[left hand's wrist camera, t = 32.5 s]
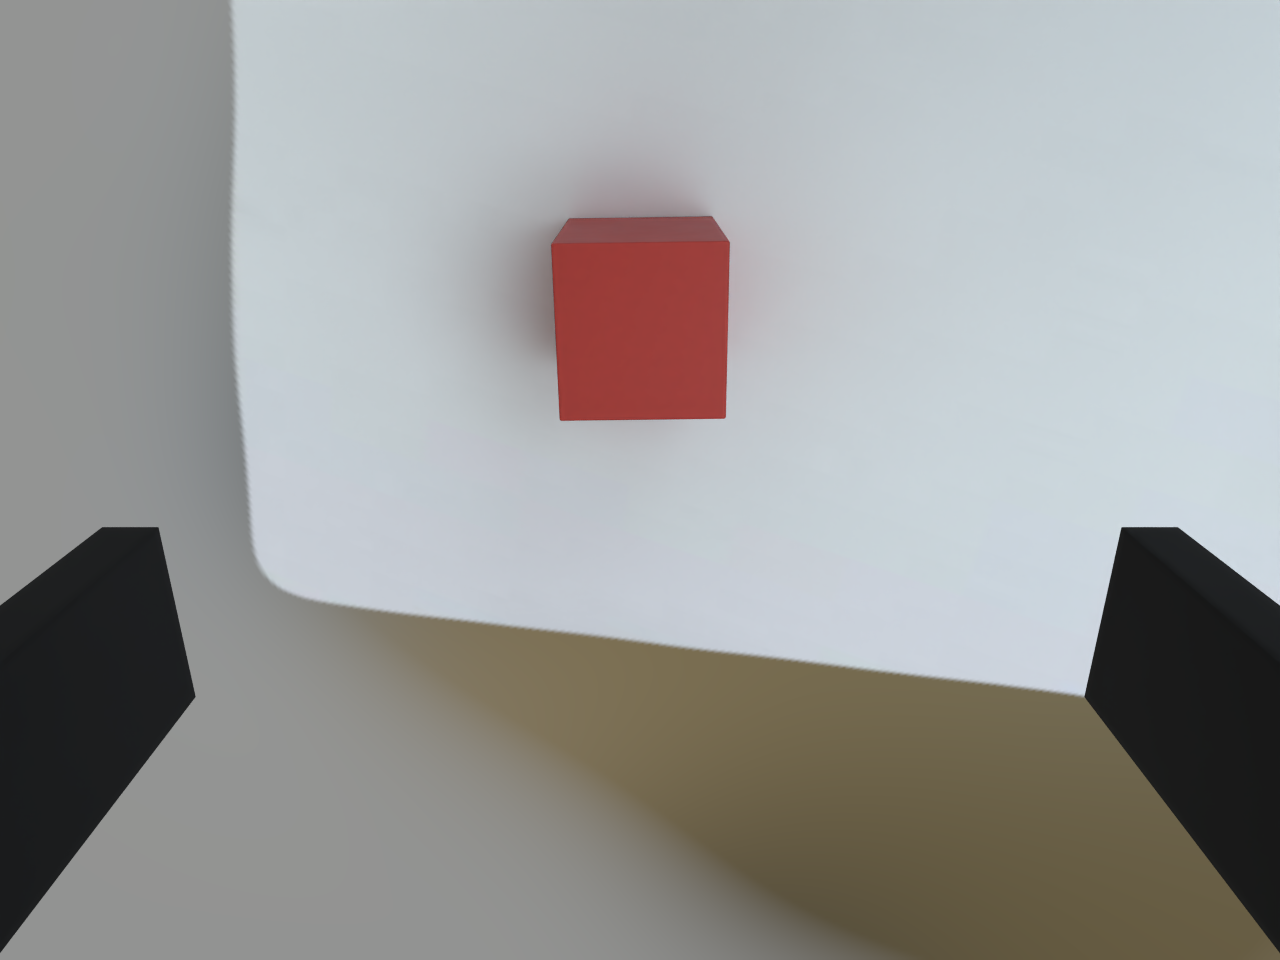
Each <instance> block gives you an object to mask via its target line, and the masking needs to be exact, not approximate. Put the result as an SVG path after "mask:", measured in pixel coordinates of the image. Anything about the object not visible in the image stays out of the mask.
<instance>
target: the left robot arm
mask: <svg viewBox="0 0 1280 960" xmlns="http://www.w3.org/2000/svg"><path fill="white" fill-rule="evenodd" d="M194 698H195V692H194V688H193V683H192V679H191V674H190V669H189V665H188V660H187V656H186V651H185V647H184V642H183V637H182V633H181V628H180V624H179V619H178V615H177V610H176V605H175V601H174V597H173V592H172V587H171V583H170V578H169V574H168V569H167V565H166V560H165V555H164V551H163V546H162V542H161V537H160V532H159V528H158V527H102V528H101V529H99V530H98V531H97V532H95V533H94V534H93V535H92V536H90V537H89V538H88V539H86V540H85V541H84V542H82V543H81V544H80V545H79V546H77V547H76V548H75V549H73V550H72V551H71V552H69V553H68V554H67V555H66V556H64V557H63V558H62V559H60V560H59V561H58V562H56V563H55V564H54V565H52V566H51V567H50V568H49V569H47V570H46V571H45V572H43V573H42V574H41V575H39V576H38V577H37V578H36V579H34V580H33V581H32V582H30V583H29V584H28V585H26V586H25V587H24V588H23V589H21V590H20V591H19V592H17V593H16V594H15V595H13V596H12V597H11V598H10V599H8V600H7V601H6V602H4V603H3V604H2V605H0V952H1V951H2V950H3V948H4V947H5V946H6V945H7V943H8V942H9V941H10V939H11V938H12V937H13V935H14V934H15V933H16V931H17V930H18V929H19V927H20V926H21V925H22V924H23V922H24V921H25V920H26V918H27V917H28V916H29V914H30V913H31V912H32V910H33V909H34V908H35V907H36V905H37V904H38V903H39V901H40V900H41V899H42V897H43V896H44V895H45V893H46V892H47V891H48V890H49V888H50V887H51V886H52V884H53V883H54V882H55V880H56V879H57V878H58V876H59V875H60V874H61V872H62V871H63V870H64V869H65V867H66V866H67V865H68V863H69V862H70V861H71V859H72V858H73V857H74V855H75V854H76V853H77V852H78V850H79V849H80V848H81V846H82V845H83V844H84V842H85V841H86V840H87V838H88V837H89V836H90V834H91V833H92V832H93V831H94V829H95V828H96V827H97V825H98V824H99V823H100V821H101V820H102V819H103V817H104V816H105V815H106V814H107V812H108V811H109V810H110V808H111V807H112V806H113V804H114V803H115V802H116V800H117V799H118V798H119V796H120V795H121V794H122V793H123V791H124V790H125V789H126V787H127V786H128V785H129V783H130V782H131V781H132V779H133V778H134V777H135V775H136V774H137V773H138V772H139V770H140V769H141V768H142V766H143V765H144V764H145V762H146V761H147V760H148V758H149V757H150V756H151V755H152V753H153V752H154V751H155V749H156V748H157V747H158V745H159V744H160V743H161V741H162V740H163V739H164V738H165V736H166V735H167V734H168V732H169V731H170V730H171V728H172V727H173V726H174V724H175V723H176V722H177V720H178V719H179V718H180V717H181V715H182V714H183V713H184V711H185V710H186V709H187V707H188V706H189V705H190V703H191V702H192V701H193V699H194ZM1085 698H1086V700H1087V701H1088V702H1089V703H1090V705H1091V706H1092V707H1093V709H1094V710H1095V711H1096V713H1097V714H1098V715H1099V717H1100V718H1101V719H1102V720H1103V722H1104V723H1105V724H1106V726H1107V727H1108V728H1109V730H1110V731H1111V732H1112V734H1113V735H1114V736H1115V738H1116V739H1117V740H1118V741H1119V743H1120V744H1121V745H1122V747H1123V748H1124V749H1125V751H1126V752H1127V753H1128V755H1129V756H1130V757H1131V758H1132V760H1133V761H1134V762H1135V764H1136V765H1137V766H1138V768H1139V769H1140V770H1141V772H1142V773H1143V774H1144V776H1145V777H1146V778H1147V779H1148V781H1149V782H1150V783H1151V785H1152V786H1153V787H1154V789H1155V790H1156V791H1157V793H1158V794H1159V795H1160V796H1161V798H1162V799H1163V800H1164V802H1165V803H1166V804H1167V806H1168V807H1169V808H1170V810H1171V811H1172V812H1173V813H1174V815H1175V816H1176V817H1177V819H1178V820H1179V821H1180V823H1181V824H1182V825H1183V827H1184V828H1185V829H1186V831H1187V832H1188V833H1189V834H1190V836H1191V837H1192V838H1193V840H1194V841H1195V842H1196V844H1197V845H1198V846H1199V848H1200V849H1201V850H1202V852H1203V853H1204V854H1205V855H1206V857H1207V858H1208V859H1209V861H1210V862H1211V863H1212V865H1213V866H1214V867H1215V869H1216V870H1217V871H1218V872H1219V874H1220V875H1221V876H1222V878H1223V879H1224V880H1225V882H1226V883H1227V884H1228V886H1229V887H1230V888H1231V890H1232V891H1233V892H1234V893H1235V895H1236V896H1237V897H1238V899H1239V900H1240V901H1241V903H1242V904H1243V905H1244V907H1245V908H1246V909H1247V910H1248V912H1249V913H1250V914H1251V916H1252V917H1253V918H1254V920H1255V921H1256V922H1257V923H1258V925H1259V926H1260V928H1261V929H1262V930H1263V931H1264V933H1265V934H1266V935H1267V937H1268V938H1269V939H1270V941H1271V942H1272V943H1273V945H1274V946H1275V947H1276V948H1277V950H1278V951H1279V952H1280V605H1278V604H1277V603H1276V602H1274V601H1273V600H1272V599H1271V598H1269V597H1268V596H1267V595H1265V594H1264V593H1263V592H1261V591H1260V590H1259V589H1257V588H1256V587H1255V586H1254V585H1252V584H1251V583H1250V582H1248V581H1247V580H1246V579H1244V578H1243V577H1242V576H1241V575H1239V574H1238V573H1237V572H1235V571H1234V570H1233V569H1231V568H1230V567H1229V566H1228V565H1226V564H1225V563H1224V562H1222V561H1221V560H1220V559H1218V558H1217V557H1216V556H1214V555H1213V554H1212V553H1211V552H1209V551H1208V550H1207V549H1205V548H1204V547H1203V546H1201V545H1200V544H1199V543H1198V542H1196V541H1195V540H1194V539H1192V538H1191V537H1190V536H1188V535H1187V534H1186V533H1185V532H1183V531H1182V530H1181V529H1179V528H1178V527H1122V528H1121V532H1120V537H1119V542H1118V546H1117V551H1116V555H1115V560H1114V564H1113V569H1112V573H1111V578H1110V583H1109V587H1108V592H1107V596H1106V601H1105V605H1104V610H1103V615H1102V619H1101V624H1100V628H1099V633H1098V637H1097V642H1096V647H1095V651H1094V656H1093V660H1092V665H1091V669H1090V674H1089V678H1088V683H1087V688H1086V692H1085Z"/></svg>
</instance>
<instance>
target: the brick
mask: <svg viewBox="0 0 1280 960" xmlns="http://www.w3.org/2000/svg"><path fill="white" fill-rule="evenodd" d="M729 251H730V242H729V240H728V239H727V237H726V236H725V234H724V233H723V232H722V230H721V229H720V227H719V226H718V224H717V223H716V221H715V220H714V219H713V217H643V218H573V219H568V221H567V222H566V224H565V225H564V227H563V228H562V229H561V231H560V232H559V234H558V235H557V237H556V238H555V240H554V241H553V242H552V244H551V253H552V273H553V293H554V313H555V334H556V354H557V374H558V394H559V414H560V420H561V421H574V420H651V419H724V418H725V417H726V384H727V340H728V295H729Z"/></svg>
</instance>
